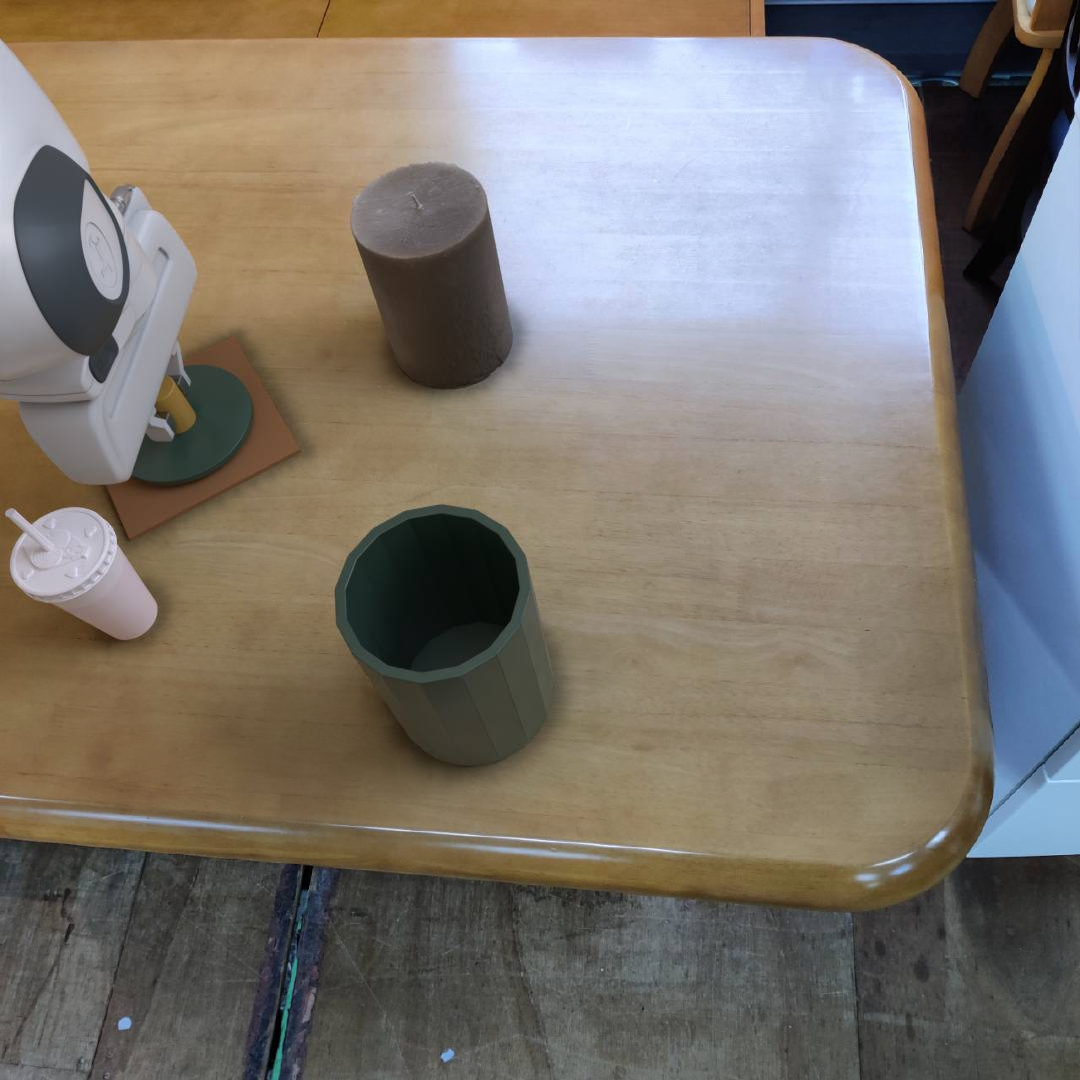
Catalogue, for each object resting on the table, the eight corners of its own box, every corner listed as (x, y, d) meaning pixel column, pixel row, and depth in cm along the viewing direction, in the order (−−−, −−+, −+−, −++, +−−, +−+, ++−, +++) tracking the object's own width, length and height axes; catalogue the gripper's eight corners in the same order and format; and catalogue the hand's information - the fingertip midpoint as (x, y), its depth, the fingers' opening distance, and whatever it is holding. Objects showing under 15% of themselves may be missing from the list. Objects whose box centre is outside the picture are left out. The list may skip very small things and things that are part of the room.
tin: (532, 782, 58) (499, 700, 46) (377, 747, 60) (306, 660, 48) (569, 633, 63) (550, 521, 50) (425, 605, 65) (372, 491, 53)
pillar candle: (498, 396, 74) (466, 249, 61) (379, 383, 75) (323, 238, 62) (524, 302, 78) (500, 147, 65) (411, 293, 80) (366, 140, 67)
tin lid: (222, 501, 71) (193, 461, 66) (91, 478, 73) (54, 438, 68) (278, 383, 76) (254, 339, 71) (154, 365, 78) (124, 322, 74)
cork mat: (131, 542, 70) (128, 538, 70) (78, 417, 77) (74, 413, 76) (302, 452, 73) (300, 449, 72) (236, 339, 79) (234, 335, 79)
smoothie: (107, 572, 69) (-8, 463, 57) (189, 579, 68) (89, 470, 56) (73, 654, 66) (-55, 557, 54) (159, 662, 65) (47, 566, 53)
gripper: (82, 170, 66) (169, 310, 78) (-25, 406, 56) (94, 525, 68) (168, 167, 65) (243, 309, 77) (75, 406, 55) (178, 526, 67)
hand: (173, 412), depth 72 cm, fingers closed on tin lid, 3 cm apart
